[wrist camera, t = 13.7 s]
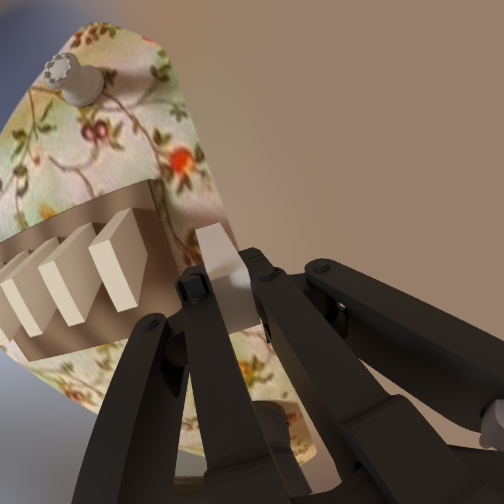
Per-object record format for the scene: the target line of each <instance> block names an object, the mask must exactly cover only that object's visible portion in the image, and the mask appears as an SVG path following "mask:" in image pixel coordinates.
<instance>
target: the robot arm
mask: <svg viewBox="0 0 504 504" xmlns="http://www.w3.org/2000/svg"><path fill="white" fill-rule="evenodd" d="M195 231H196V235H197V239H198V242H199V246H200V250H201V254H202V257H203V261H204V263H203V264H200V265H196V266H193V267H190V268H187V269H185V271H184V272H183V274H182V276H181V277H179V278H178V279H177V280H176V281H175V284H174V286H175V288H176V291H177V293H178V296H179V298H180V301H181V304H182V308H181V309H180V310H179V311H178V312H177V313H175V314H173V315H172V316H170V317H168V318H166V317H165V315H164V314H162V313H151V314H147V315H146V316H143V317H142V318H141V319H140V320H138V322H137V323H136V324H135V326H134V328H133V330H132V333H131V335H130V337H129V339H128V342H127V344H126V346H125V349H124V351H123V353H122V356H121V358H120V360H119V363H118V365H117V367H116V370H115V372H114V375H113V377H112V380H111V382H110V385H109V387H108V390H107V393H106V395H105V398H104V400H103V403H102V406H101V408H100V411H99V414H98V417H97V420H96V422H95V425H94V428H93V432H92V434H91V438H90V440H89V443H88V446H87V450H86V453H85V456H84V459H83V462H82V466H81V469H80V472H79V476H78V480H77V484H76V487H75V491H74V495H73V499H72V503H71V504H504V341H502V340H500V339H498V338H497V337H495V336H493V335H491V334H489V333H487V332H485V331H483V330H481V329H479V328H477V327H475V326H472V325H471V324H468V323H467V322H465V321H463V320H461V319H458V318H457V317H454V316H452V315H450V314H448V313H446V312H444V311H442V310H440V309H438V308H436V307H434V306H432V305H430V304H428V303H425V302H423V301H421V300H419V299H417V298H415V297H413V296H411V295H408V294H406V293H404V292H402V291H400V290H398V289H396V288H393V287H391V286H389V285H387V284H385V283H383V282H380V281H378V280H376V279H374V278H372V277H369V276H367V275H365V274H363V273H361V272H358V271H356V270H354V269H352V268H350V267H347V266H345V265H342V264H340V263H338V262H336V261H334V260H330V259H323V258H320V259H316V260H313V261H311V262H309V263H308V264H306V266H305V268H304V269H305V273H301V274H293V275H287V274H286V272H285V271H284V270H283V269H281V268H278V267H273V265H272V264H271V263H270V262H269V261H268V259H267V258H266V257H265V256H264V255H263V253H262V252H261V251H260V250H259V249H256V248H253V247H252V248H249V249H246V250H242V251H239V252H237V251H236V249H235V247H234V246H233V244H232V242H231V241H230V239H229V237H228V236H227V234H226V232H225V231H224V229H223V227H222V226H221V224H220V222H219V223H216V224H213V225H209V226H206V227H203V228H199V229H196V230H195ZM340 303H341V304H343V305H344V306H345V308H344V307H342V306H340ZM259 316H260V317H259ZM260 318H261V320H262V323H263V327H264V331H265V335H266V339H267V343H271V345H272V347H273V349H274V351H275V352H276V354H277V356H278V358H279V360H280V362H281V364H282V366H283V368H284V370H285V372H286V374H287V375H288V377H289V379H290V381H291V383H292V385H293V387H294V388H295V391H296V392H297V394H298V396H299V398H300V400H301V401H302V404H303V406H304V407H305V409H306V411H307V413H308V415H309V417H310V418H311V420H312V422H313V424H314V426H315V428H316V430H317V431H318V433H319V435H320V437H321V439H322V440H323V442H324V444H325V446H326V448H327V449H328V451H329V453H330V455H331V457H332V458H333V460H334V463H335V465H336V469H337V472H338V474H339V476H340V478H341V480H342V483H341V484H339V485H338V486H337V487H335V488H334V489H333V490H330V491H327V492H323V493H317V494H315V493H314V492H312V490H311V488H310V486H309V484H308V482H307V480H306V478H305V476H304V474H303V472H302V470H301V468H300V466H299V464H298V462H297V460H296V458H295V456H294V454H293V452H292V449H291V447H290V435H289V430H288V429H289V420H288V417H287V415H286V413H285V411H284V409H283V408H282V407H281V406H279V405H277V404H275V403H271V402H262V401H259V402H252V400H251V397H250V394H249V391H248V389H247V386H246V383H245V381H244V378H243V375H242V372H241V369H240V367H239V364H238V361H237V358H236V355H235V352H234V349H233V346H232V343H231V341H230V338H229V334H232V333H235V332H238V331H241V330H244V329H247V328H250V327H253V326H256V325H259V324H261V321H260ZM359 359H361V360H362V361H364V362H365V363H366V364H368V365H369V366H371V367H372V368H373V369H375V370H376V371H378V372H379V373H381V374H382V375H383V376H385V377H386V378H388V379H389V380H390V381H392V382H393V383H395V384H396V385H398V386H399V387H401V388H402V389H404V390H405V391H406V392H408V393H409V394H411V395H412V396H414V397H415V398H417V399H418V400H420V401H421V402H423V403H424V404H426V405H427V406H429V407H430V408H432V409H433V410H435V411H436V412H438V413H439V414H441V415H442V416H444V417H445V418H447V419H448V420H450V421H452V422H453V423H455V424H457V425H459V426H461V427H463V428H466V429H468V430H471V431H474V432H479V433H481V436H480V438H479V443H480V446H481V447H483V448H486V449H487V448H490V447H493V448H495V449H497V451H495V450H484V449H475V448H468V447H461V446H454V445H448V444H446V443H445V441H444V440H443V439H442V438H441V437H440V436H439V434H438V433H437V432H436V431H435V430H434V428H433V427H432V426H431V425H430V424H429V423H428V421H427V420H426V419H425V418H424V417H423V415H422V414H421V413H420V412H419V411H418V410H417V408H416V407H415V406H414V405H413V404H412V403H411V402H410V401H409V400H408V399H407V398H406V397H405V396H403V395H400V394H397V395H390V394H388V393H387V392H386V391H385V390H384V389H383V387H382V386H381V385H380V384H379V383H378V381H377V380H376V379H375V378H374V376H373V375H372V374H371V373H370V372H369V370H368V369H367V368H366V367H365V366H364V365H363V363H362V362H361V361H360V360H359ZM189 372H190V377H191V383H192V389H193V396H194V401H195V407H196V413H197V418H198V423H199V429H200V434H201V439H202V443H203V448H204V453H205V457H206V461H207V470H206V471H205V473H204V475H203V476H175V468H176V460H177V452H178V445H179V437H180V430H181V423H182V416H183V410H184V403H185V397H186V391H187V384H188V378H189Z"/></svg>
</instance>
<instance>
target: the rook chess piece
mask: <svg viewBox="0 0 504 504" xmlns="http://www.w3.org/2000/svg"><path fill="white" fill-rule="evenodd" d="M45 67H46V70H45V72H43V77H44V82H45V84H46V86H47V87H48V88H50V89H53V90H54V89H59V90H62V93H63V97H64V98H65V100H66V101H67V102H68V103H69V104H71V105H73V106H75V107H84V106H86V105H88V104H90V103H92V102H93V101H94V100H95V99H96V98H98V96H99V94H100V93H101V91H102V89H103V85H104V78H103V74H102V73H101V71H100V70H99V69H97V68H96V67H94V66H91V65H80V63H79V62H78V58H77V57H76V56H75V55H74V54H72V53H62V54H60V55H59V54H57V55H55V56H53V60H52V61H51V62H47V64H46V65H45Z"/></svg>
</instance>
